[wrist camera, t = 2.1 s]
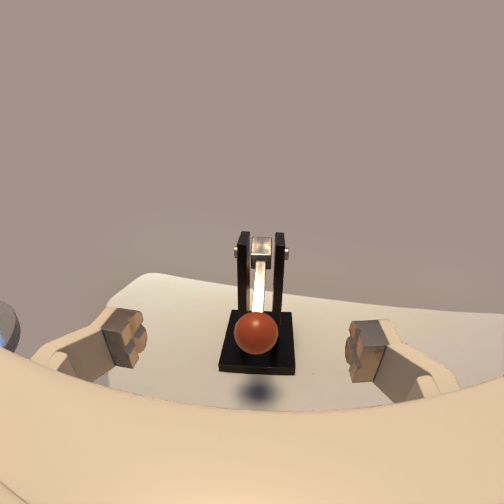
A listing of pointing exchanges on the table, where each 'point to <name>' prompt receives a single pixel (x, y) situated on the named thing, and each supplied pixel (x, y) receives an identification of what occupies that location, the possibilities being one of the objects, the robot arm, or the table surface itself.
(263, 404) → the table surface
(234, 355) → the bracket
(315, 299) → the table surface
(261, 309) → the faucet lever
